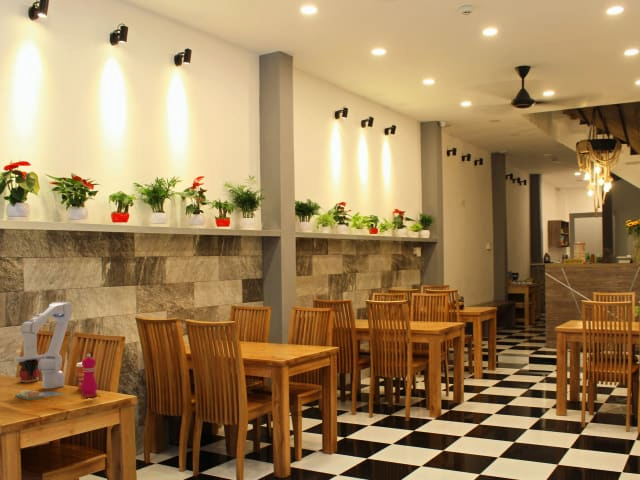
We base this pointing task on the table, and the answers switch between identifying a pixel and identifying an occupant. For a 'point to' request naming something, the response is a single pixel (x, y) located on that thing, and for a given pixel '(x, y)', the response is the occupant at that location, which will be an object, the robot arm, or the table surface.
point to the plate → (49, 393)
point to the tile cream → (24, 392)
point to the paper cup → (80, 374)
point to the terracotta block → (33, 393)
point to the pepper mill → (89, 377)
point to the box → (30, 397)
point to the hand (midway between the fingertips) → (30, 376)
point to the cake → (25, 374)
